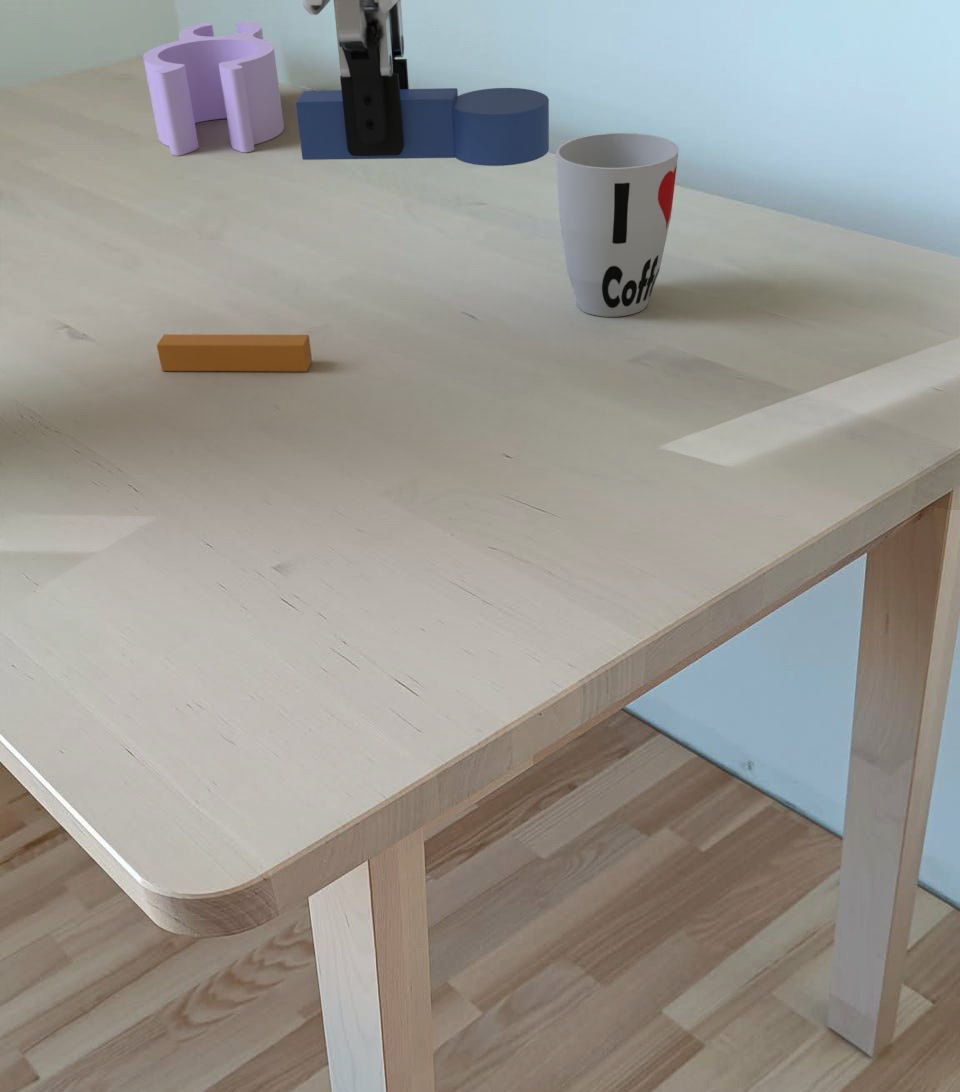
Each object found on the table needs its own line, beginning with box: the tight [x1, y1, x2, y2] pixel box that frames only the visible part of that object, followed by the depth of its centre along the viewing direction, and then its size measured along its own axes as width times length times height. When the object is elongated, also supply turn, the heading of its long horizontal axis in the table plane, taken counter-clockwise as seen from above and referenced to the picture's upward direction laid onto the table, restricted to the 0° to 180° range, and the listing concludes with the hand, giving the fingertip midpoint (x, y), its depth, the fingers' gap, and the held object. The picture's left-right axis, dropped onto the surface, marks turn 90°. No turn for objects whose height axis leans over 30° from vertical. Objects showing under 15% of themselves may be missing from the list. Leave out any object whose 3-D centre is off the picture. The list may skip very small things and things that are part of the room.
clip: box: [142, 20, 285, 157], centre depth 126 cm, size 20×12×7 cm, turn 1°
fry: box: [156, 333, 313, 373], centre depth 85 cm, size 10×2×2 cm, turn 85°
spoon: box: [295, 87, 550, 167], centre depth 73 cm, size 14×6×3 cm, turn 84°
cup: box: [555, 132, 680, 318], centre depth 88 cm, size 8×8×10 cm
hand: (380, 143), depth 74 cm, fingers closed on spoon, 2 cm apart
